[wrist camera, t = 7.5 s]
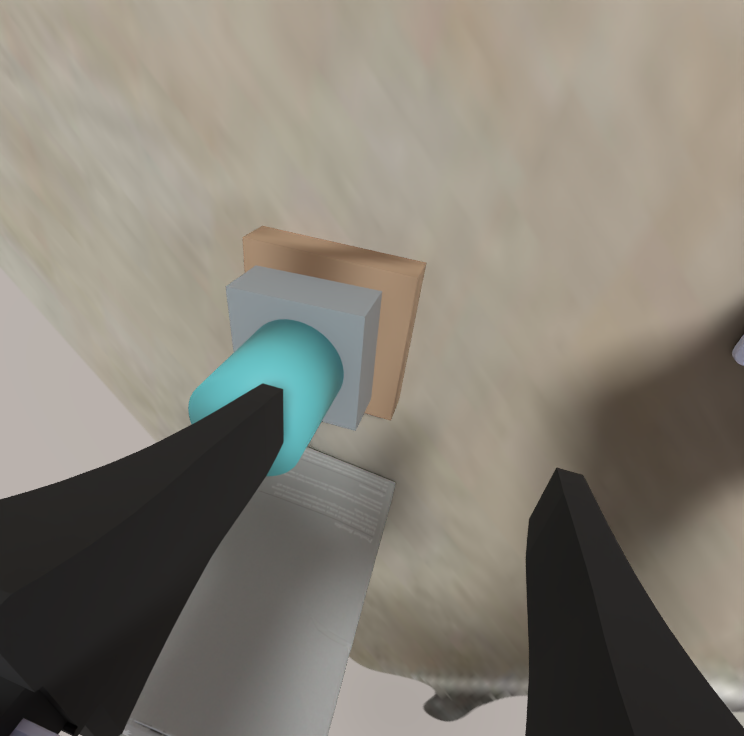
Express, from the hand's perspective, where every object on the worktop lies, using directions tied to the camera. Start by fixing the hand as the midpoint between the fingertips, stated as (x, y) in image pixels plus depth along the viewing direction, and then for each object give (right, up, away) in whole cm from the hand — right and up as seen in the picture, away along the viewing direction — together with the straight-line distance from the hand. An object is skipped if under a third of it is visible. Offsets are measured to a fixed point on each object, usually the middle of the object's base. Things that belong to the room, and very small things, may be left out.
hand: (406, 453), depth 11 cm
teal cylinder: (-4, +2, +8) cm, 9 cm away
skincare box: (-3, -5, +18) cm, 19 cm away
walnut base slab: (-3, +5, +12) cm, 13 cm away
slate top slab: (-4, +4, +10) cm, 11 cm away
